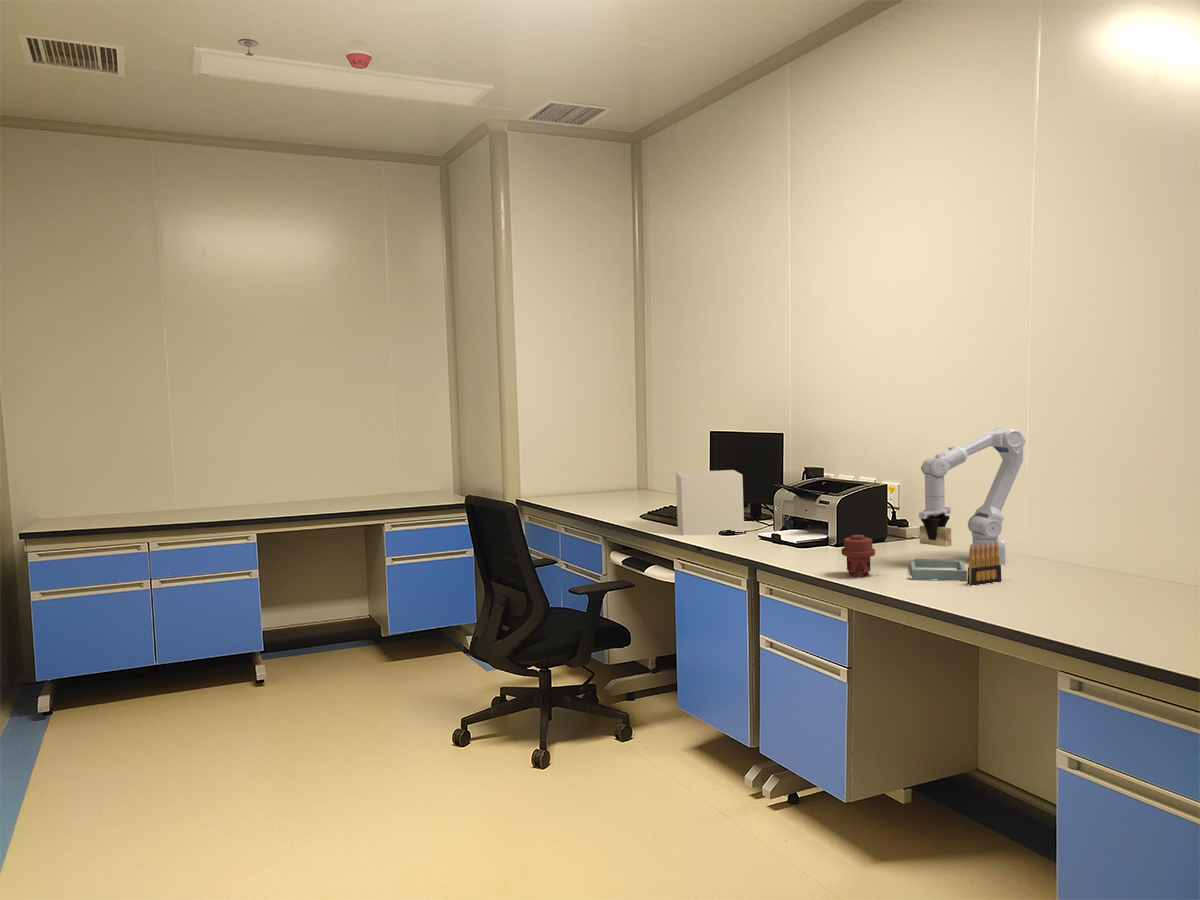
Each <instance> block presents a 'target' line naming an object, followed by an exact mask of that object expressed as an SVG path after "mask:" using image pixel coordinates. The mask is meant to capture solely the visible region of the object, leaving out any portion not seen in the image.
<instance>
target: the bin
mask: <svg viewBox="0 0 1200 900" xmlns="http://www.w3.org/2000/svg"><path fill="white" fill-rule="evenodd" d="M918 568H919V569H918ZM920 568H921V569H920ZM923 568H932V569H923ZM933 568H937V569H933ZM938 568H939V569H938ZM941 568H942V569H941ZM910 570H911V579H912V578H913V579H938V580H937V581H944V580H960V581H959V582H967V578H968V569H967V568H966V567H965V565H964V562H963V560H954V561H941V560H914V559H911V560H910ZM913 579H912V580H913Z"/></svg>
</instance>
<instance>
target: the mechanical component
mask: <svg viewBox="0 0 1200 900" xmlns="http://www.w3.org/2000/svg"><path fill="white" fill-rule="evenodd" d="M843 545H844V546H843V547H842V548H841V550H840V551H841V555H842V556H844V557H846V571H847V572H848V575H849V574H851V575H850V576H853V575H855V576H854V577H856V576H857V577H856V578H858V577H861V578H863V577H864V576H867V575H866V574H868V575H869V572H870V571H871V568H872V567H871V558H872V557H874V556H876V549H875V548H873V539H872V538H870V537H866V536H865V535H864V534H853V535H850V536H849V537H846V538H844V539H843ZM863 575H864V576H863Z"/></svg>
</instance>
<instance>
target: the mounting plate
mask: <svg viewBox="0 0 1200 900" xmlns="http://www.w3.org/2000/svg"><path fill="white" fill-rule="evenodd" d="M913 560H941V561H955V560H954V559H941V558H940V559H939V558H938V559H937V558H936V559H935V558H914V559H913Z"/></svg>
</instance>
